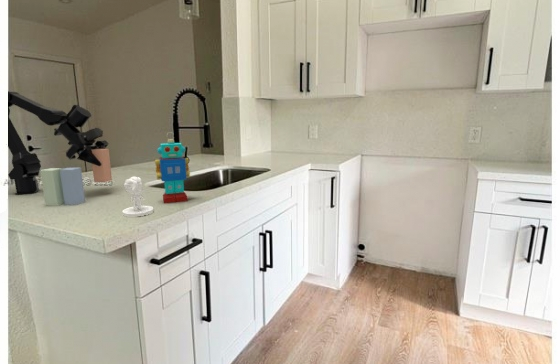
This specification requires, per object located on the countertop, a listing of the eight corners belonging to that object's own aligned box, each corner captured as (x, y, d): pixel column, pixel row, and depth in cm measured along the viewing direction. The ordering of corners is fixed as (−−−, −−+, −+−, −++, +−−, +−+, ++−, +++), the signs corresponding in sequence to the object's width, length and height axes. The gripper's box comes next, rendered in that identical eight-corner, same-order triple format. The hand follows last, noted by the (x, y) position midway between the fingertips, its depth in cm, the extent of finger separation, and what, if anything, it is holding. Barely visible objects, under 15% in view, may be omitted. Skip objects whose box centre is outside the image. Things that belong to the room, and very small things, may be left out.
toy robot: (159, 203, 115) (153, 133, 110) (158, 199, 121) (152, 132, 115) (192, 200, 120) (188, 132, 114) (189, 196, 125) (185, 131, 120)
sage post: (45, 205, 114) (40, 170, 111) (55, 202, 118) (50, 168, 115) (57, 205, 113) (52, 170, 111) (67, 202, 118) (62, 168, 115)
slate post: (64, 204, 115) (59, 169, 112) (73, 201, 119) (69, 167, 117) (76, 204, 114) (72, 169, 112) (85, 201, 119) (80, 167, 116)
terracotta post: (94, 181, 126) (90, 150, 124) (101, 179, 131) (97, 148, 128) (105, 182, 126) (101, 150, 123) (111, 179, 130) (108, 148, 128)
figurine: (134, 219, 99) (130, 180, 96) (116, 214, 104) (112, 177, 101) (159, 211, 106) (156, 175, 104) (141, 207, 111) (138, 173, 109)
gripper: (69, 121, 115) (102, 153, 116) (101, 120, 133) (129, 147, 134) (51, 143, 117) (84, 174, 118) (85, 139, 135) (113, 166, 137)
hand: (104, 164), depth 127 cm, fingers closed on terracotta post, 4 cm apart
